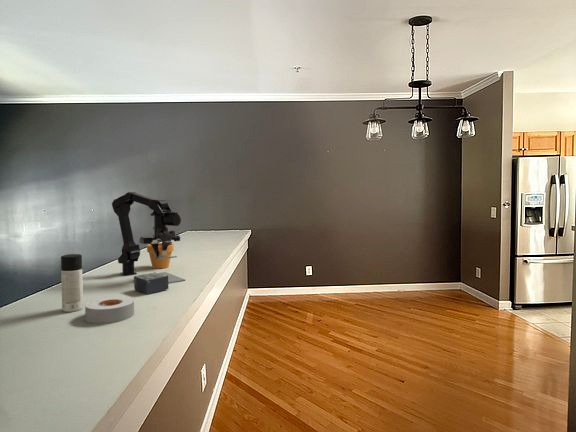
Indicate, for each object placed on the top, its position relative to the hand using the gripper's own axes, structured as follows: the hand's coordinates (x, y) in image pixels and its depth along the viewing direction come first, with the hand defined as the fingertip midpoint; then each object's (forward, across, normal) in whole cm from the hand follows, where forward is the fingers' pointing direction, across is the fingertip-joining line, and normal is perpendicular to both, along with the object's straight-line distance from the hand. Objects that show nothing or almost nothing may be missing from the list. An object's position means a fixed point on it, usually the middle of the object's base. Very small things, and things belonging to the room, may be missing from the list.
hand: (160, 256), depth 184 cm
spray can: (+11, -45, -26) cm, 53 cm away
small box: (+8, -14, -14) cm, 21 cm away
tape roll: (+11, -37, -42) cm, 57 cm away
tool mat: (+11, 0, -2) cm, 11 cm away
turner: (+1, 0, -3) cm, 3 cm away
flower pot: (+11, +11, +25) cm, 29 cm away
